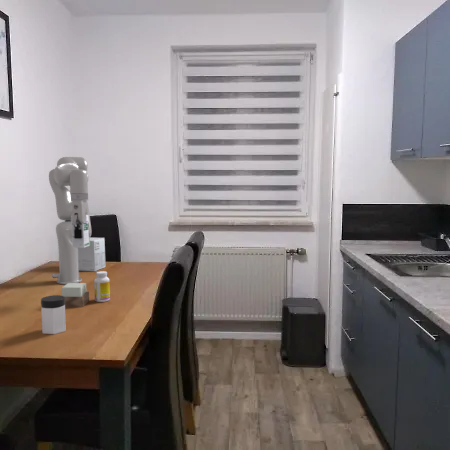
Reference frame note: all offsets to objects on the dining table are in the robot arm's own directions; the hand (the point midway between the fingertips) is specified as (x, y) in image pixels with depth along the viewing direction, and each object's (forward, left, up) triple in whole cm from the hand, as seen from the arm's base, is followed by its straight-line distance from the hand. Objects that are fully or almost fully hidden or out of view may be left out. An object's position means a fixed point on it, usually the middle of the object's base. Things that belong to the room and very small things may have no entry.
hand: (80, 237), depth 206 cm
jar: (+4, -43, -28) cm, 52 cm away
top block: (-1, -9, -24) cm, 26 cm away
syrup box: (0, 0, -5) cm, 5 cm away
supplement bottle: (+10, -4, -28) cm, 30 cm away
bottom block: (0, -9, -28) cm, 30 cm away
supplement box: (-18, +64, -28) cm, 72 cm away
